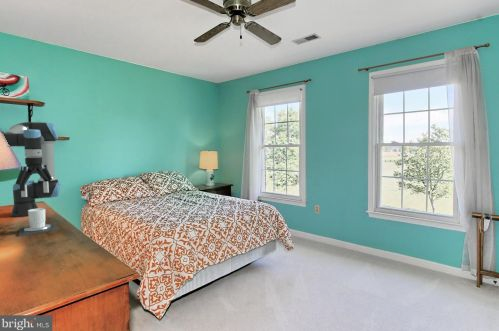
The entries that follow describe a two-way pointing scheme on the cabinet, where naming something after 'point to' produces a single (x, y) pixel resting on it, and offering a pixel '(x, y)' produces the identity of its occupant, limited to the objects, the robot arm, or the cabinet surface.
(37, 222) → the white cup
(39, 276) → the cabinet surface
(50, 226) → the duct collar
